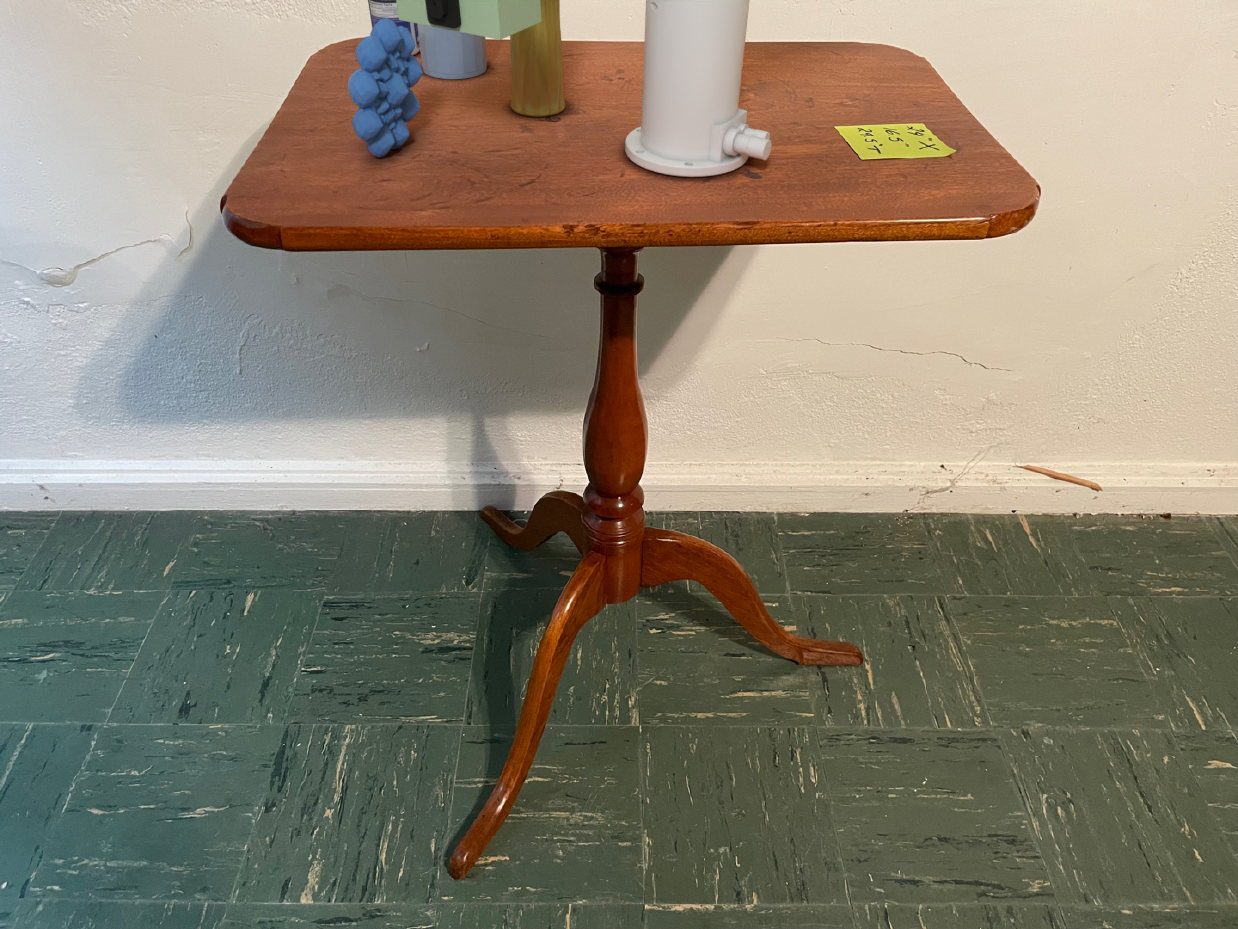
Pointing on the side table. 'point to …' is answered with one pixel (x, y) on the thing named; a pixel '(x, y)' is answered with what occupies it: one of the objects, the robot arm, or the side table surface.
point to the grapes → (385, 87)
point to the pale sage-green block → (480, 16)
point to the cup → (451, 53)
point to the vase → (538, 65)
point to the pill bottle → (392, 17)
